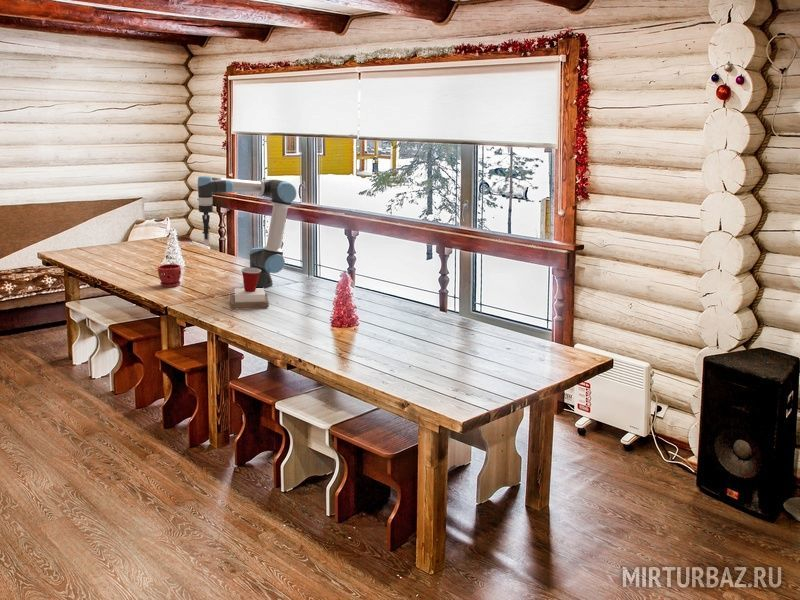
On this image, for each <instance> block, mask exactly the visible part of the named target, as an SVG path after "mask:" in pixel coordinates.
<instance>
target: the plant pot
mask: <svg viewBox="0 0 800 600" xmlns="http://www.w3.org/2000/svg"><path fill="white" fill-rule="evenodd" d="M157 273H158V278H159V280H160V284H159V285H161V287H164V288H176V287H178V286H180V285H181V281H180V279H181V277H182V276H181V274H182V267H181V265H180V264H177V263H176V264H174V263H168V264H162V265H159V266H158V267H157ZM175 286H176V287H175Z"/></svg>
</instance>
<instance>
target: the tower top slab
mask: <svg viewBox="0 0 800 600" xmlns="http://www.w3.org/2000/svg"><path fill="white" fill-rule="evenodd" d="M265 294H266V293H265V287H263V288H256V290H255V291H254V292H249V291H245V289H244V287H241V288H240V287H239V288H238V287H237V288H236V287H234V295H235V302H265Z"/></svg>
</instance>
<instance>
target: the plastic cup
mask: <svg viewBox="0 0 800 600" xmlns="http://www.w3.org/2000/svg"><path fill="white" fill-rule="evenodd" d="M240 271H241V272H242V280H243V288H244V289H245V291H249V292H254V291H255V290H256V285H257V282H258V278H259V274H260V272H261V270H260V269H258V268H250V267H243V268H241V269H240Z"/></svg>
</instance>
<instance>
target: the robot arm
mask: <svg viewBox="0 0 800 600" xmlns="http://www.w3.org/2000/svg"><path fill="white" fill-rule="evenodd" d="M197 193H198V195H197V197H198V198H197V201H198V202H197V203H198V212H199V213H203V214H202V215H201V218H202V224H203V231H202V233H201V234H203V245H204V246H210V230H211V226H210V216H211V215H210V214H209V213H212V212H213V211H214V210H213V208H214V207H213V201H214V200H213V194H227V193H237V194H238V193H239V194H249V195H254V194H255V195H257V196H259V197H265V198H269V199H271V201H270V203H271V204H272V210H271V217H270V223H269V229H268V235H267V240H266V245H265V246H263V247H262V246H261V247H253V248H250V249H249V268H258V269H260V270H261V272H260V274H259V278H258V282H257V285H256V287H263V288H268V287H269V286H270V287H271V286H273V278H272V276H271V274H278V273H279V272H281V271H282V270H283V269H284V267H285V265H286V261H285V258H284V256H283V255H284V251H283V250H282V249H283V248H282V245H283V244H282V243H283V238H284V233H285V227H286V219H287V215H288V209H289V208H290V207H291V206H292V202H293V201H294V200H295V199H296V197H297V189H296V186H295V185H294V184H293V183H292V182H290V181H286V180H279V179H258V180H249V179H248V180H247V179H236V178H225V177H224V178H222V177H212V176H209V175H201V176H198V177H197ZM270 287H269V288H270Z"/></svg>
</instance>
